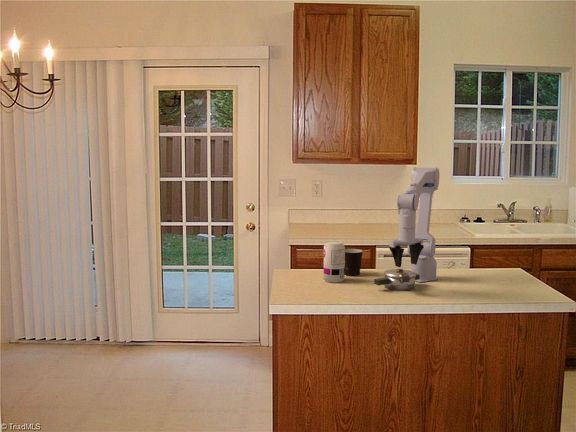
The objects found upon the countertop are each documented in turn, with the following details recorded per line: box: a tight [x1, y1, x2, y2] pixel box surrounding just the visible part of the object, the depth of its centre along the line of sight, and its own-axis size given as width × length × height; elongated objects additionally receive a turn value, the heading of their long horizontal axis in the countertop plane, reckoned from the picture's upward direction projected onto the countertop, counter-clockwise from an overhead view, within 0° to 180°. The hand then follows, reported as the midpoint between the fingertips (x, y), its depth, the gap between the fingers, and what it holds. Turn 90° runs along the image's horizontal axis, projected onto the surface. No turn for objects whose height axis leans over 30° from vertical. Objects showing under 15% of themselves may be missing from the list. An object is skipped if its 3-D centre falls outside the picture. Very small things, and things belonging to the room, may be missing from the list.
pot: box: [373, 274, 420, 292], centre depth 197 cm, size 19×11×4 cm, turn 119°
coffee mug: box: [344, 248, 364, 277], centre depth 218 cm, size 12×9×10 cm
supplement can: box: [322, 240, 346, 284], centre depth 206 cm, size 8×8×15 cm
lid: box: [383, 268, 416, 282], centre depth 194 cm, size 17×12×2 cm
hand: (406, 265), depth 189 cm, fingers open, 7 cm apart
